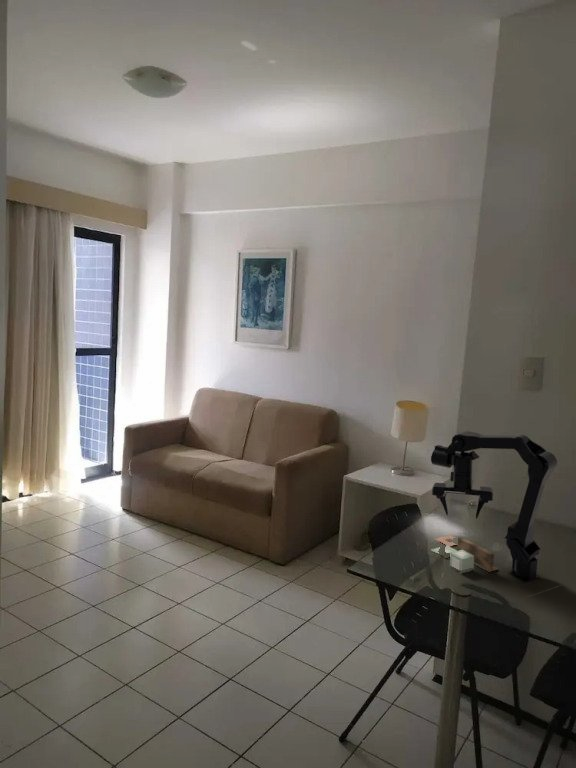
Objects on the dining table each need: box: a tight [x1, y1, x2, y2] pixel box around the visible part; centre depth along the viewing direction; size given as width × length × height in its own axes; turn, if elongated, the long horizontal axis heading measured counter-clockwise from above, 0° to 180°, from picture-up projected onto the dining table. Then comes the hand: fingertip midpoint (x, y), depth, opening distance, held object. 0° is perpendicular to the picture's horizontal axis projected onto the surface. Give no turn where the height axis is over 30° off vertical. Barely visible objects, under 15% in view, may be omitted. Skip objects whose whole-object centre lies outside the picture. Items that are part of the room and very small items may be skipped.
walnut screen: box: [456, 536, 499, 572], centre depth 184 cm, size 14×4×6 cm, turn 28°
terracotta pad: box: [434, 534, 457, 547], centre depth 200 cm, size 7×7×1 cm
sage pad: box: [431, 545, 457, 555], centre depth 191 cm, size 7×7×1 cm
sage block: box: [449, 550, 475, 571], centre depth 179 cm, size 5×5×5 cm
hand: (461, 516), depth 189 cm, fingers open, 9 cm apart
